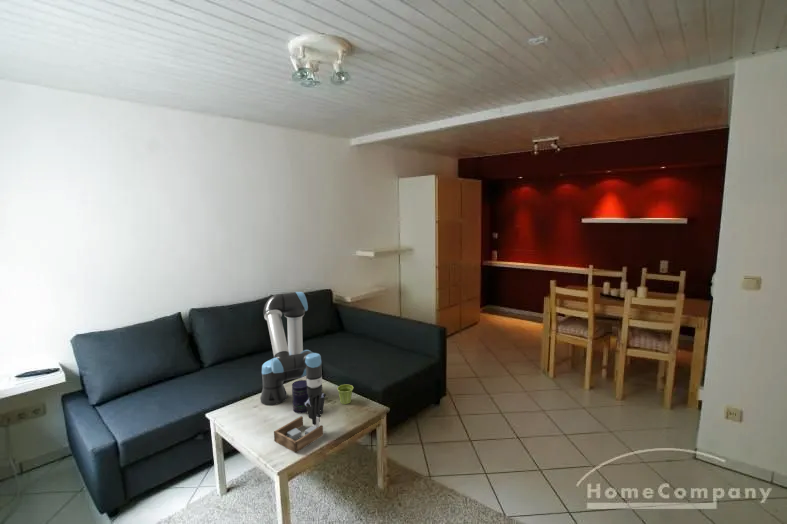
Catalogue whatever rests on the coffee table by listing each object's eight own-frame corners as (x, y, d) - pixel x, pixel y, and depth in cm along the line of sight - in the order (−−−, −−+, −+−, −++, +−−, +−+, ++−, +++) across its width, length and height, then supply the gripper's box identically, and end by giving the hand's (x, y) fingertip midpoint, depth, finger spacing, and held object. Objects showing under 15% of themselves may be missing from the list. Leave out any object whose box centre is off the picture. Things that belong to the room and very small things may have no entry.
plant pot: (355, 398, 223) (354, 384, 221) (351, 406, 213) (351, 391, 212) (339, 397, 223) (339, 384, 222) (335, 405, 214) (335, 391, 213)
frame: (274, 441, 181) (273, 431, 181) (301, 425, 195) (301, 416, 194) (295, 453, 172) (295, 442, 171) (323, 435, 185) (322, 425, 185)
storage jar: (302, 415, 204) (301, 389, 203) (289, 410, 209) (287, 385, 207) (314, 406, 213) (313, 382, 211) (301, 403, 218) (300, 378, 216)
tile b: (304, 436, 185) (304, 430, 185) (312, 431, 189) (312, 425, 189) (311, 439, 182) (311, 433, 182) (319, 434, 186) (319, 429, 186)
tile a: (287, 437, 184) (286, 432, 184) (295, 433, 188) (295, 427, 187) (292, 441, 181) (292, 435, 180) (301, 437, 184) (301, 431, 184)
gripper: (309, 392, 178) (311, 438, 181) (329, 381, 188) (331, 425, 191) (299, 387, 182) (301, 433, 185) (319, 378, 193) (320, 421, 196)
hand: (316, 429), depth 188 cm, fingers closed
